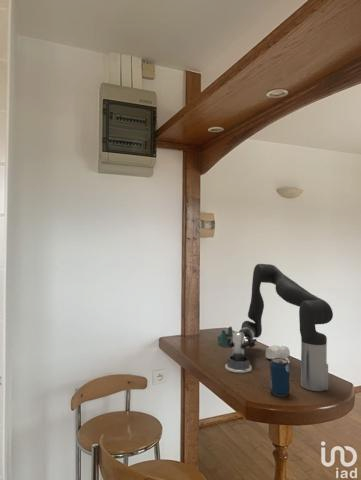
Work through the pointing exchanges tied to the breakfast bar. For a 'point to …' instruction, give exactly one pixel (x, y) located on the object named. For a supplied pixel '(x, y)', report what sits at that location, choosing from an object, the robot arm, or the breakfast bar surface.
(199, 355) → the breakfast bar surface
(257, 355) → the breakfast bar surface
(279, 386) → the soda can
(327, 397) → the breakfast bar surface
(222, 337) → the dark teal irregular lump
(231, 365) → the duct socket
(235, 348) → the pipe
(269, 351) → the white crumpled piece
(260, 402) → the breakfast bar surface
